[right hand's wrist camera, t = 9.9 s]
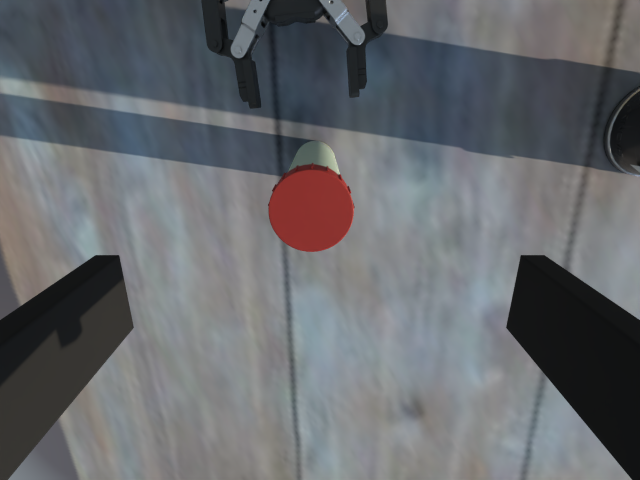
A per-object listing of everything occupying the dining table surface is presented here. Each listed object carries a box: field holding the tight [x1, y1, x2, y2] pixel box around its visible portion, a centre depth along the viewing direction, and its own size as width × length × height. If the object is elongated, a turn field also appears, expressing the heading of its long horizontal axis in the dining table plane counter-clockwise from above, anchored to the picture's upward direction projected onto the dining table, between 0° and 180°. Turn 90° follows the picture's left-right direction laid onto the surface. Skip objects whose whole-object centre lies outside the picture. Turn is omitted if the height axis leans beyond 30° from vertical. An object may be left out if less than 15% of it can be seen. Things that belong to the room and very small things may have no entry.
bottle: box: [288, 141, 340, 175], centre depth 30 cm, size 4×4×19 cm
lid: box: [268, 163, 354, 252], centre depth 22 cm, size 5×5×2 cm
